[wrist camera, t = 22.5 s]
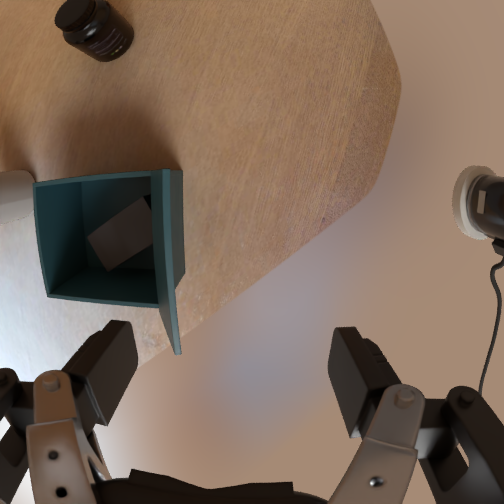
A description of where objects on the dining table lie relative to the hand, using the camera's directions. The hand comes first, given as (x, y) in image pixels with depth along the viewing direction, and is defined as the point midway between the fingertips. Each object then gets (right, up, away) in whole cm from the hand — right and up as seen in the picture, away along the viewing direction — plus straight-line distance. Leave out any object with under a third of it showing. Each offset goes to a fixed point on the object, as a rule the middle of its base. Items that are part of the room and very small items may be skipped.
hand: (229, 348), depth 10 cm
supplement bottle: (-18, +32, +18) cm, 41 cm away
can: (-34, +13, +23) cm, 43 cm away
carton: (-15, +7, +25) cm, 30 cm away
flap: (-6, +3, +11) cm, 13 cm away
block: (-17, +4, +22) cm, 29 cm away
